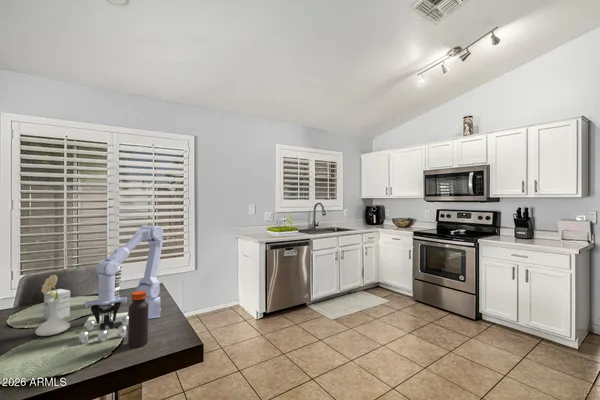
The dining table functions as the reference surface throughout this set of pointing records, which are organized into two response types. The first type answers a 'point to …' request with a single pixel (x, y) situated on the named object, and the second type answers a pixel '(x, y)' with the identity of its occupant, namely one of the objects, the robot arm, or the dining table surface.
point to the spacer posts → (103, 331)
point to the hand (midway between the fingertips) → (106, 321)
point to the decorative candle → (117, 283)
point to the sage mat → (118, 316)
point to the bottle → (138, 320)
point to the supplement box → (63, 305)
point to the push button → (106, 317)
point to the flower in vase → (52, 311)
